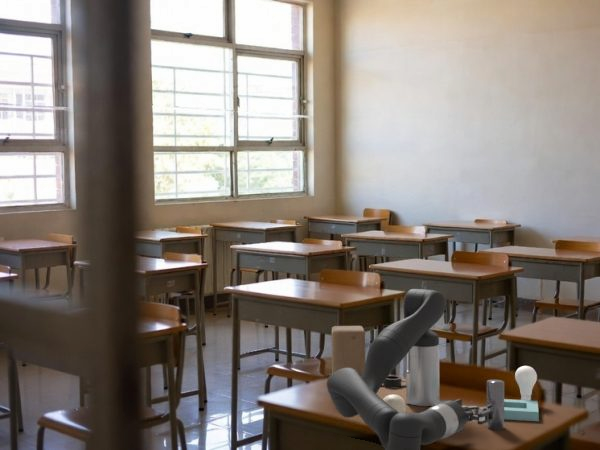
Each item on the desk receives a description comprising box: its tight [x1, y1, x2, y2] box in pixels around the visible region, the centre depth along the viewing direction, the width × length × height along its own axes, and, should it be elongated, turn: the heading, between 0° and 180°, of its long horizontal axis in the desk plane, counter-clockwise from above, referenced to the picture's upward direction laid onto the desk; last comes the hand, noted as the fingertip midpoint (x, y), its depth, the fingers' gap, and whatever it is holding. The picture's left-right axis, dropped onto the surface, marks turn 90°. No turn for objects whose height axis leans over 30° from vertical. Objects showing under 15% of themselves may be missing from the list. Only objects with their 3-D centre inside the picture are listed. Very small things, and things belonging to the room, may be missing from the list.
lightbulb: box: [514, 365, 538, 401], centre depth 230 cm, size 6×6×11 cm
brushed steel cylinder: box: [486, 379, 505, 431], centre depth 207 cm, size 4×4×12 cm
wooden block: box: [331, 325, 366, 377], centre depth 247 cm, size 10×10×20 cm
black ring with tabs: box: [382, 375, 406, 388], centre depth 254 cm, size 8×10×3 cm
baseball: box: [382, 394, 407, 413], centre depth 216 cm, size 7×7×7 cm
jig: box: [504, 398, 540, 422], centre depth 219 cm, size 12×12×2 cm
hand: (476, 405), depth 198 cm, fingers open, 8 cm apart
